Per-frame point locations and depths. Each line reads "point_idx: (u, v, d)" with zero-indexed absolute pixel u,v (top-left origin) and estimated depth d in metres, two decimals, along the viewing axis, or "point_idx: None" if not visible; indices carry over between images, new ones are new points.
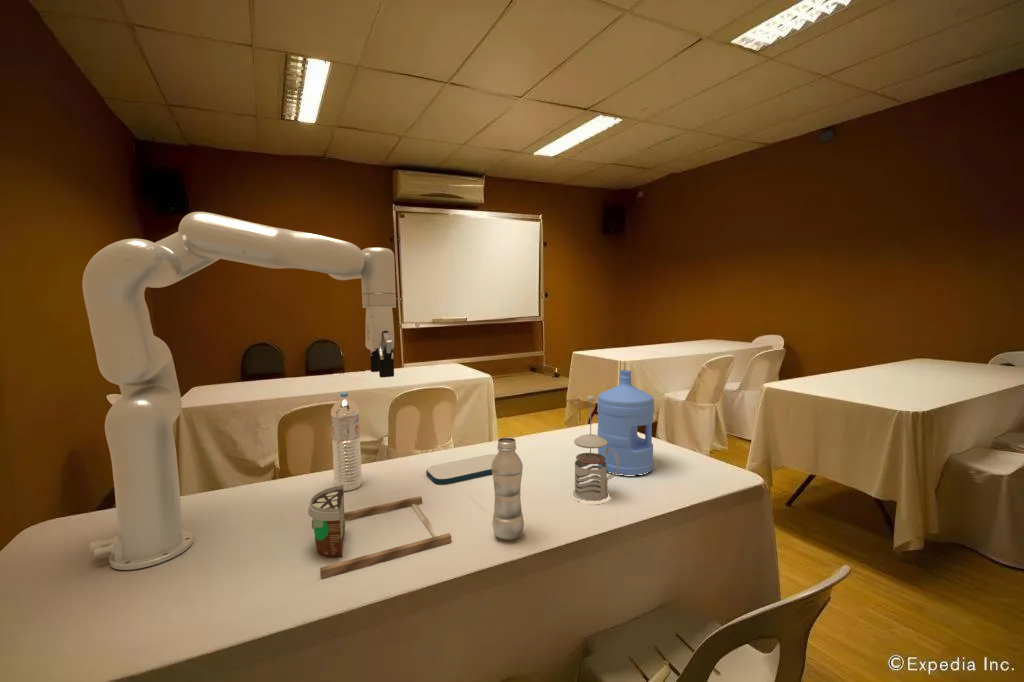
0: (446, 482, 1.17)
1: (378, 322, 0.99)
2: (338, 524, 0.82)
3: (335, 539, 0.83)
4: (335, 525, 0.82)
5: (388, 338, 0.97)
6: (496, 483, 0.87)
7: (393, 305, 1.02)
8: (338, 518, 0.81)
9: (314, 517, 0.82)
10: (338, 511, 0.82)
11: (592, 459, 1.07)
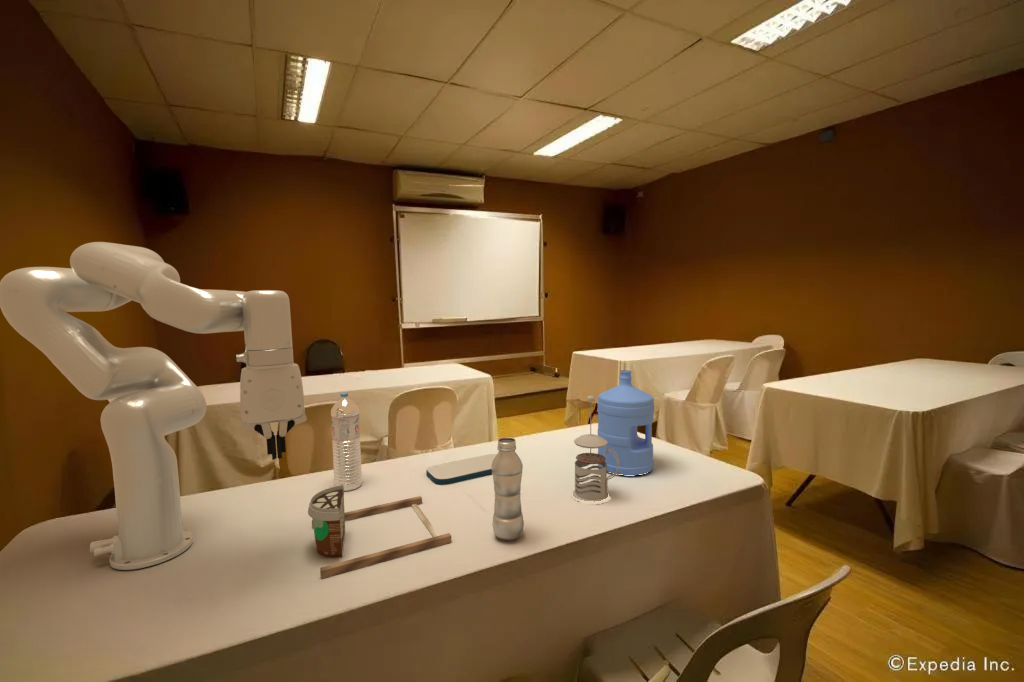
0: (446, 482, 1.17)
1: (301, 382, 0.82)
2: (338, 524, 0.82)
3: (335, 539, 0.83)
4: (335, 525, 0.82)
5: (304, 412, 0.83)
6: (496, 483, 0.87)
7: None
8: (338, 518, 0.81)
9: (314, 517, 0.82)
10: (338, 511, 0.82)
11: (592, 459, 1.07)
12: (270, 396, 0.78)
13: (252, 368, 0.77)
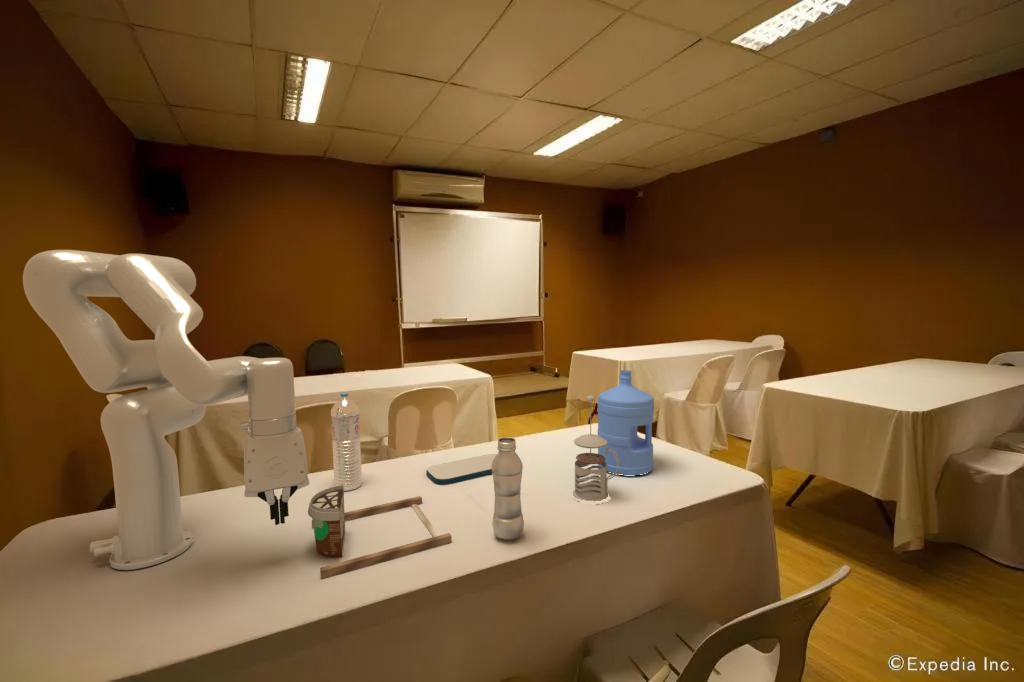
0: (447, 482, 1.17)
1: (304, 447, 0.83)
2: (338, 524, 0.82)
3: (335, 539, 0.83)
4: (335, 525, 0.82)
5: (307, 476, 0.84)
6: (496, 483, 0.87)
7: None
8: (338, 518, 0.81)
9: (314, 517, 0.82)
10: (338, 511, 0.82)
11: (592, 459, 1.07)
12: (273, 464, 0.79)
13: (256, 437, 0.78)
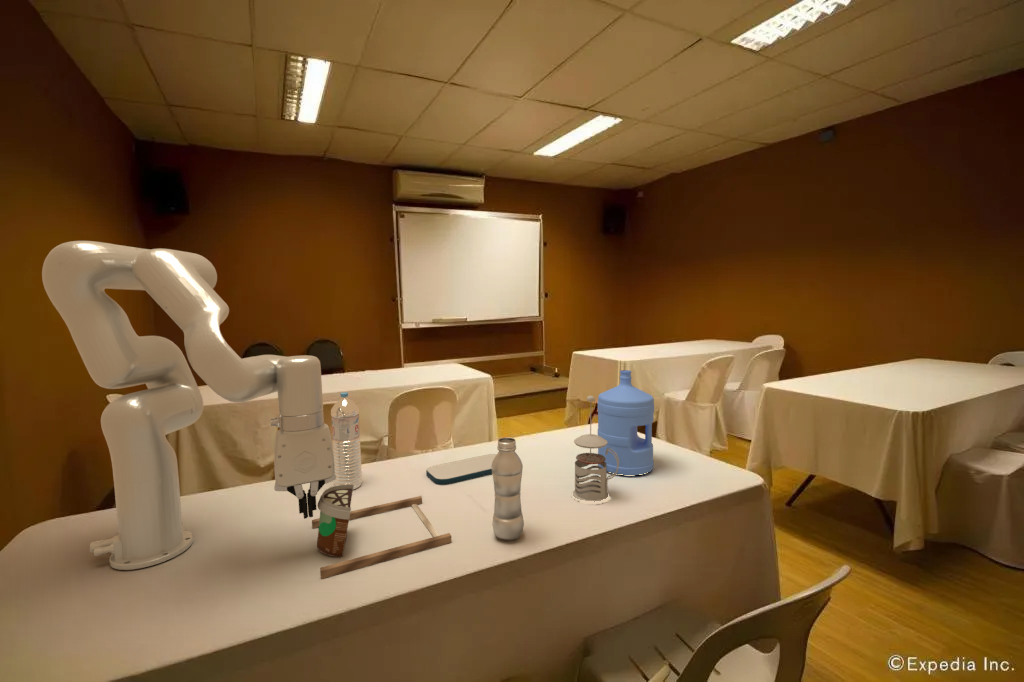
0: (447, 482, 1.17)
1: None
2: (346, 523, 0.83)
3: (339, 538, 0.83)
4: (343, 524, 0.83)
5: None
6: (496, 483, 0.87)
7: None
8: (348, 517, 0.82)
9: (324, 512, 0.83)
10: (349, 510, 0.82)
11: (592, 459, 1.07)
12: (303, 459, 0.81)
13: (286, 433, 0.80)
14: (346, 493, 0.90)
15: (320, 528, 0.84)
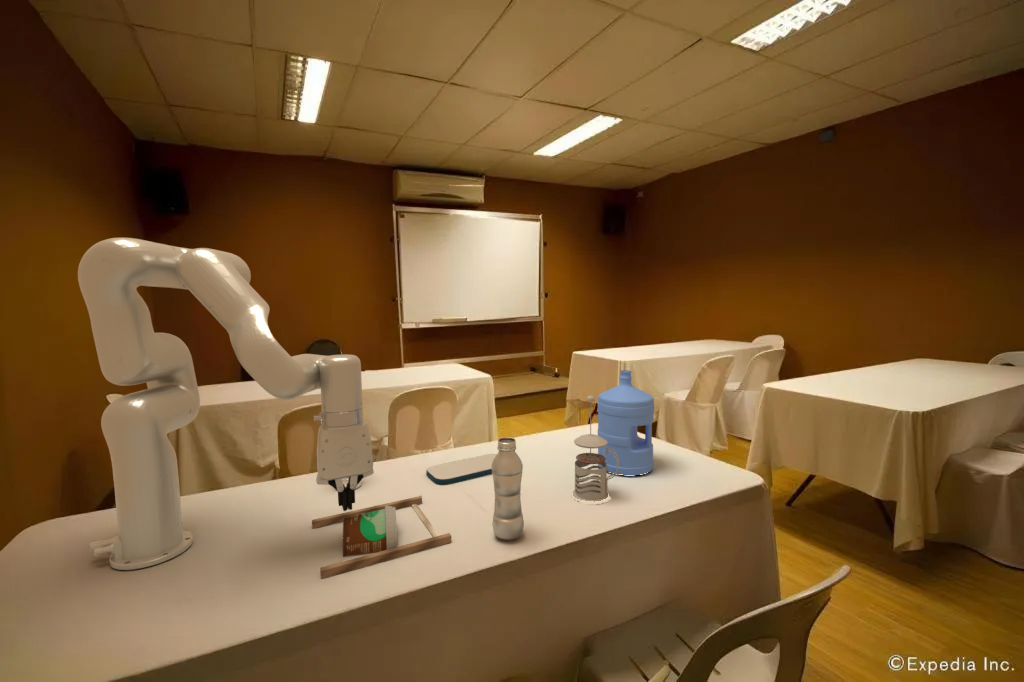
0: (447, 482, 1.17)
1: (370, 439, 0.88)
2: (380, 550, 0.85)
3: (363, 548, 0.84)
4: (379, 548, 0.85)
5: None
6: (497, 483, 0.87)
7: None
8: None
9: (387, 525, 0.86)
10: None
11: (592, 459, 1.07)
12: (344, 454, 0.85)
13: (329, 429, 0.83)
14: None
15: (365, 522, 0.87)
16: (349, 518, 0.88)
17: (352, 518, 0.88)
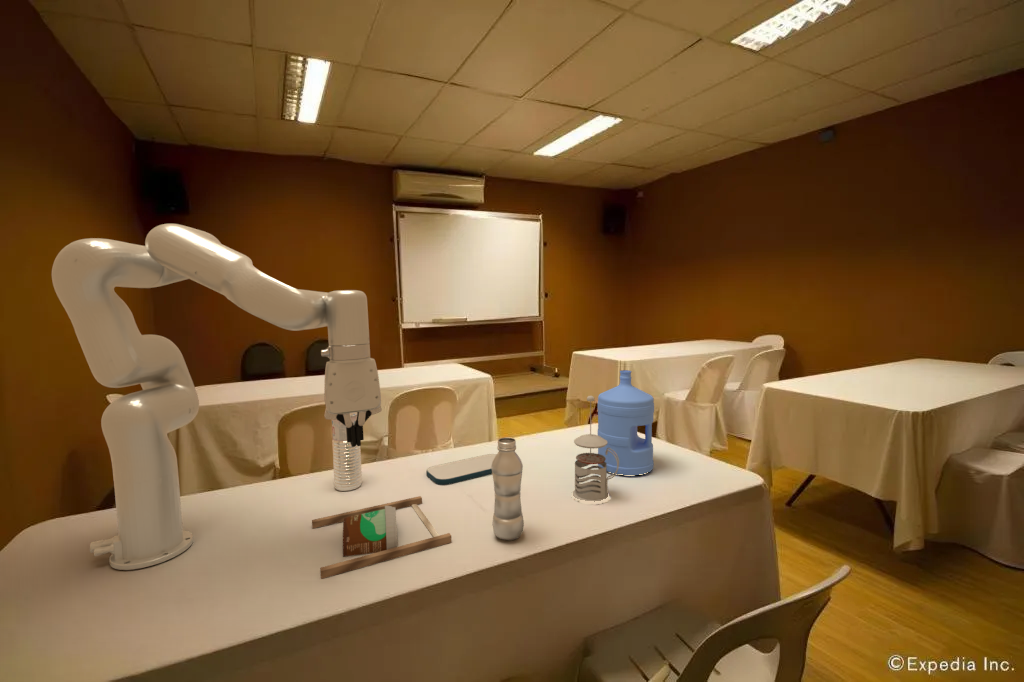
0: (448, 482, 1.17)
1: None
2: (380, 550, 0.85)
3: (363, 548, 0.84)
4: (379, 548, 0.85)
5: None
6: (496, 483, 0.87)
7: None
8: None
9: (387, 525, 0.86)
10: None
11: (592, 459, 1.07)
12: (352, 388, 0.85)
13: (336, 362, 0.83)
14: None
15: (365, 522, 0.87)
16: (349, 518, 0.88)
17: (352, 518, 0.88)
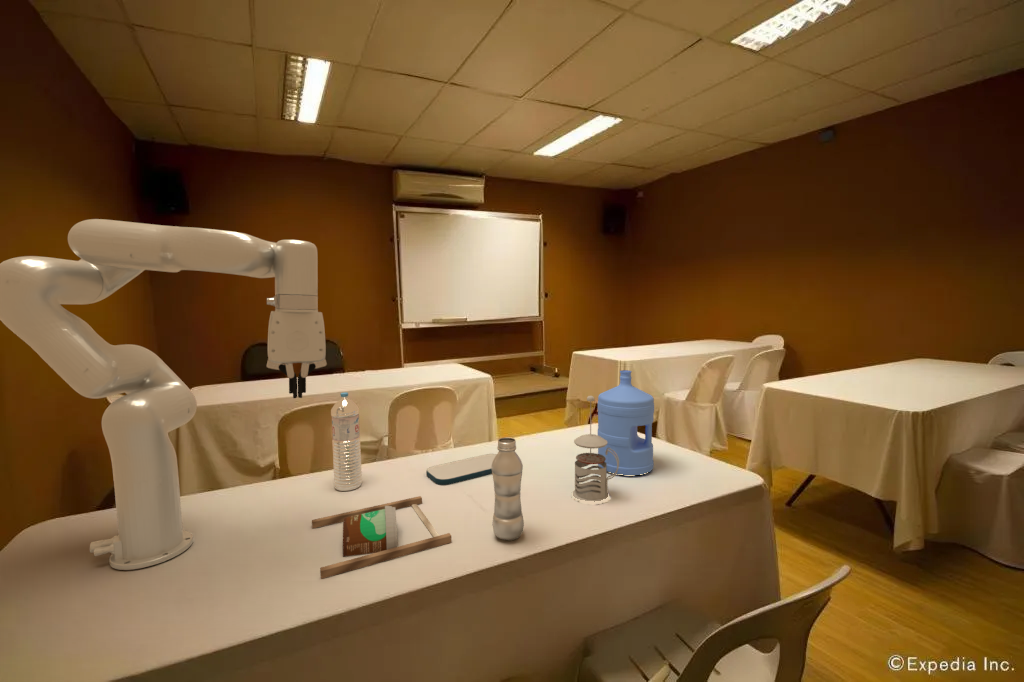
0: (448, 482, 1.16)
1: (324, 328, 0.88)
2: (380, 550, 0.85)
3: (363, 548, 0.84)
4: (379, 548, 0.85)
5: (324, 358, 0.90)
6: (496, 483, 0.87)
7: None
8: None
9: (387, 525, 0.86)
10: None
11: (592, 459, 1.07)
12: (295, 338, 0.85)
13: (280, 311, 0.83)
14: None
15: (365, 522, 0.87)
16: (349, 518, 0.88)
17: (352, 518, 0.88)
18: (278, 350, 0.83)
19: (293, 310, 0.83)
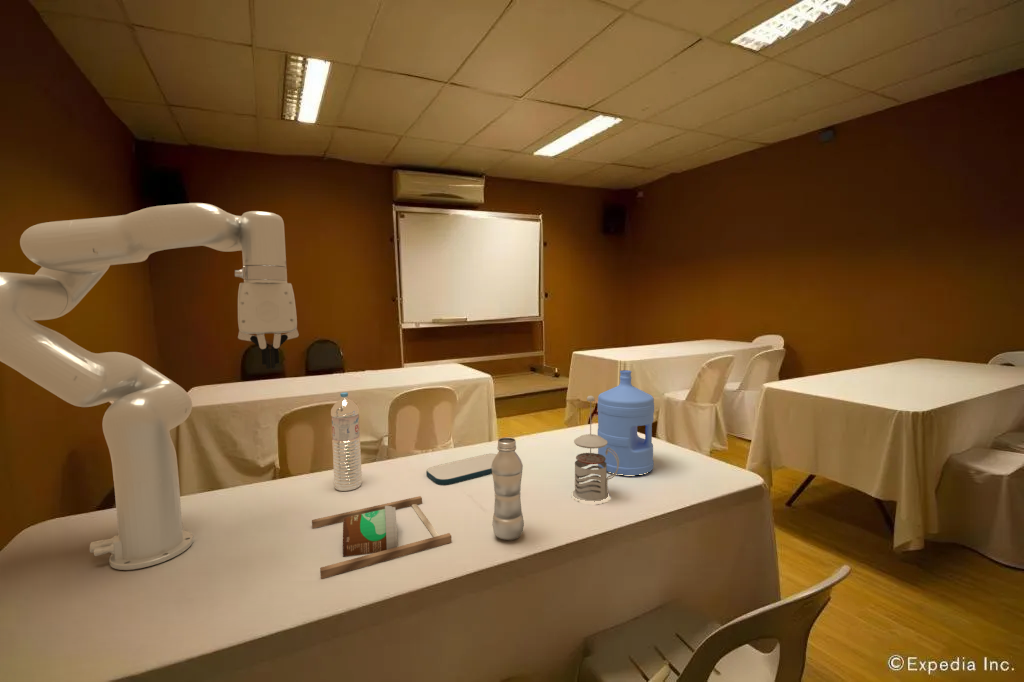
0: (448, 482, 1.16)
1: (294, 299, 0.89)
2: (380, 550, 0.85)
3: (363, 548, 0.84)
4: (379, 548, 0.85)
5: (296, 329, 0.91)
6: (496, 483, 0.87)
7: None
8: None
9: (387, 525, 0.86)
10: None
11: (592, 459, 1.07)
12: (265, 309, 0.86)
13: (249, 282, 0.84)
14: None
15: (365, 522, 0.87)
16: (349, 518, 0.88)
17: (352, 518, 0.88)
18: (248, 321, 0.85)
19: (261, 280, 0.84)
